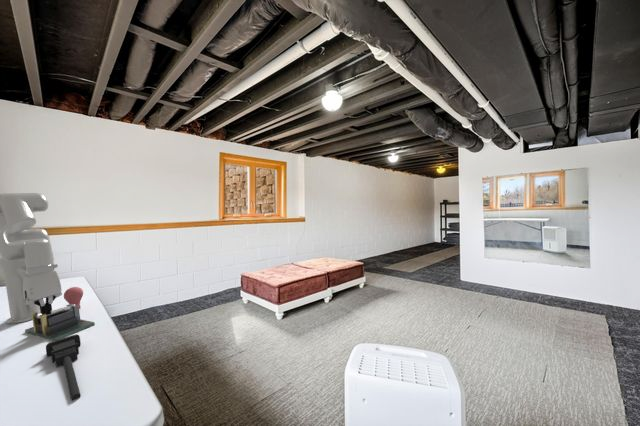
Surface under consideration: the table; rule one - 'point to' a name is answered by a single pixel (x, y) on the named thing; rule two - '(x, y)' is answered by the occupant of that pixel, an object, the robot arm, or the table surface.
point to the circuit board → (58, 324)
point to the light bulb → (73, 295)
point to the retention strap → (59, 310)
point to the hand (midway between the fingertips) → (46, 314)
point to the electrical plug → (66, 359)
